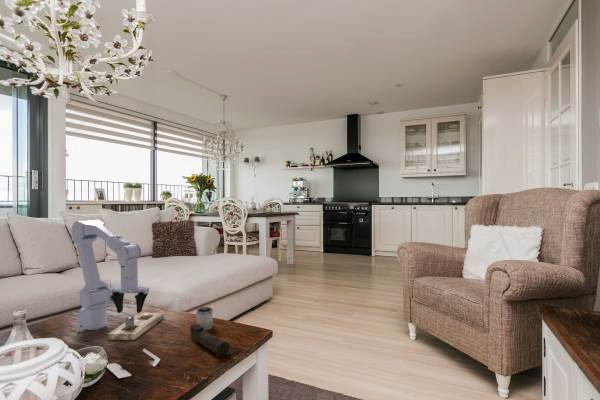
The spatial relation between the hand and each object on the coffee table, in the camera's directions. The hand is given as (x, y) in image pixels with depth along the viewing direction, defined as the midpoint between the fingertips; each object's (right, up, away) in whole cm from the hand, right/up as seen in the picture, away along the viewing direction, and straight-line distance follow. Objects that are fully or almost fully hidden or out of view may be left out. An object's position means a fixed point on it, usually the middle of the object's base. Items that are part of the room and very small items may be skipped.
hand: (129, 312), depth 123 cm
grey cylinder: (0, -8, 0) cm, 8 cm away
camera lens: (+27, -9, +7) cm, 29 cm away
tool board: (0, -9, +6) cm, 11 cm away
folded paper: (+13, -10, -22) cm, 27 cm away
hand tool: (+31, -9, -10) cm, 34 cm away
